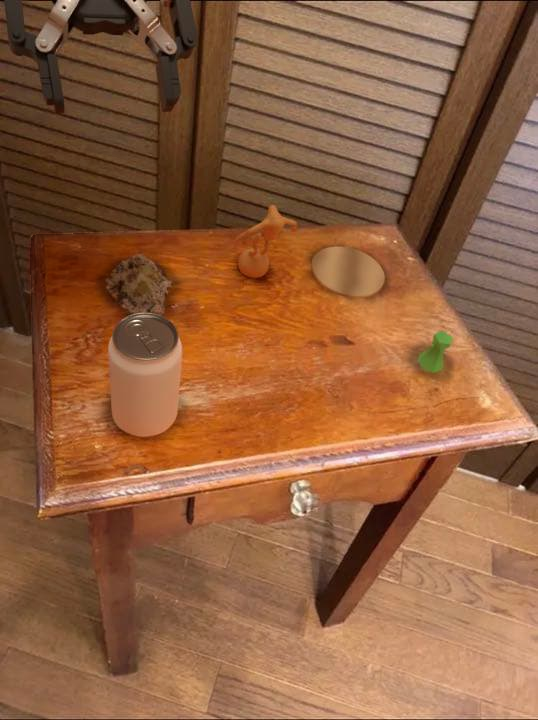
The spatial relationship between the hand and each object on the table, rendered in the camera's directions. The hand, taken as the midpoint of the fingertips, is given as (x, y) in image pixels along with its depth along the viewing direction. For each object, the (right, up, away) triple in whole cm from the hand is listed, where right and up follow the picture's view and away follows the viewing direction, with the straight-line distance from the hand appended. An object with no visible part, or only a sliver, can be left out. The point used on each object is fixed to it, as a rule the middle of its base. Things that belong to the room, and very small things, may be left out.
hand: (116, 109), depth 47 cm
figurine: (+10, -10, +29) cm, 33 cm away
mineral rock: (-3, -13, +24) cm, 27 cm away
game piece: (+31, -21, +24) cm, 45 cm away
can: (0, -26, +13) cm, 29 cm away
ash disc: (+23, -9, +33) cm, 41 cm away
